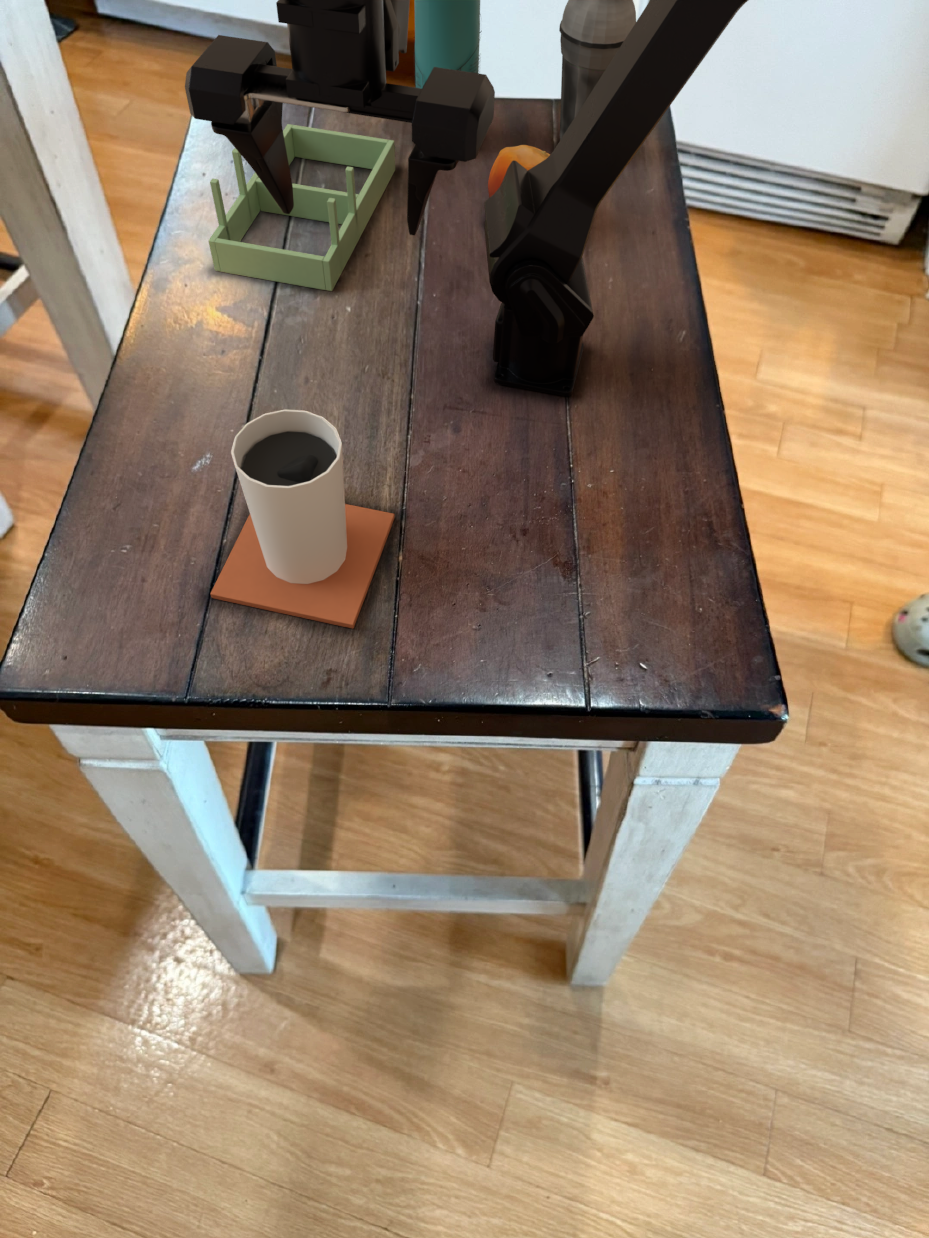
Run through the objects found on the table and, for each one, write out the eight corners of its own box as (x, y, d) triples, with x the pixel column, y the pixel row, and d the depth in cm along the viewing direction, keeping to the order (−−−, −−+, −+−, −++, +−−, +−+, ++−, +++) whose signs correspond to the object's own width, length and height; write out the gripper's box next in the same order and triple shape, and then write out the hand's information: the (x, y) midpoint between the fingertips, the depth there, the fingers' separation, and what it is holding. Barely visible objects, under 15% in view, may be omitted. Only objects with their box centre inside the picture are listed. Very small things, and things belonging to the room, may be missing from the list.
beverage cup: (628, 163, 95) (670, -67, 78) (564, 176, 93) (593, -56, 76) (597, 128, 98) (630, -98, 82) (535, 139, 97) (556, -89, 80)
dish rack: (395, 170, 93) (393, 98, 87) (332, 291, 81) (324, 218, 76) (291, 153, 94) (282, 81, 88) (214, 271, 82) (198, 197, 77)
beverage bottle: (470, 161, 94) (479, -71, 77) (407, 152, 95) (402, -80, 78) (483, 129, 98) (493, -99, 81) (421, 121, 98) (420, -108, 82)
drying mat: (394, 518, 67) (394, 513, 66) (353, 629, 61) (353, 624, 61) (263, 491, 68) (262, 486, 67) (211, 598, 62) (209, 593, 62)
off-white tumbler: (365, 525, 66) (356, 421, 57) (335, 598, 62) (320, 498, 54) (277, 506, 66) (255, 400, 58) (242, 577, 63) (213, 475, 54)
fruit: (453, 213, 86) (488, 124, 82) (501, 225, 92) (535, 142, 88) (516, 251, 83) (555, 160, 79) (561, 261, 89) (599, 177, 85)
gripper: (520, -66, 56) (503, 181, 69) (229, -104, 58) (265, 143, 71) (479, 13, 49) (469, 269, 62) (154, -33, 52) (209, 224, 64)
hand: (351, 221), depth 65 cm, fingers open, 9 cm apart
